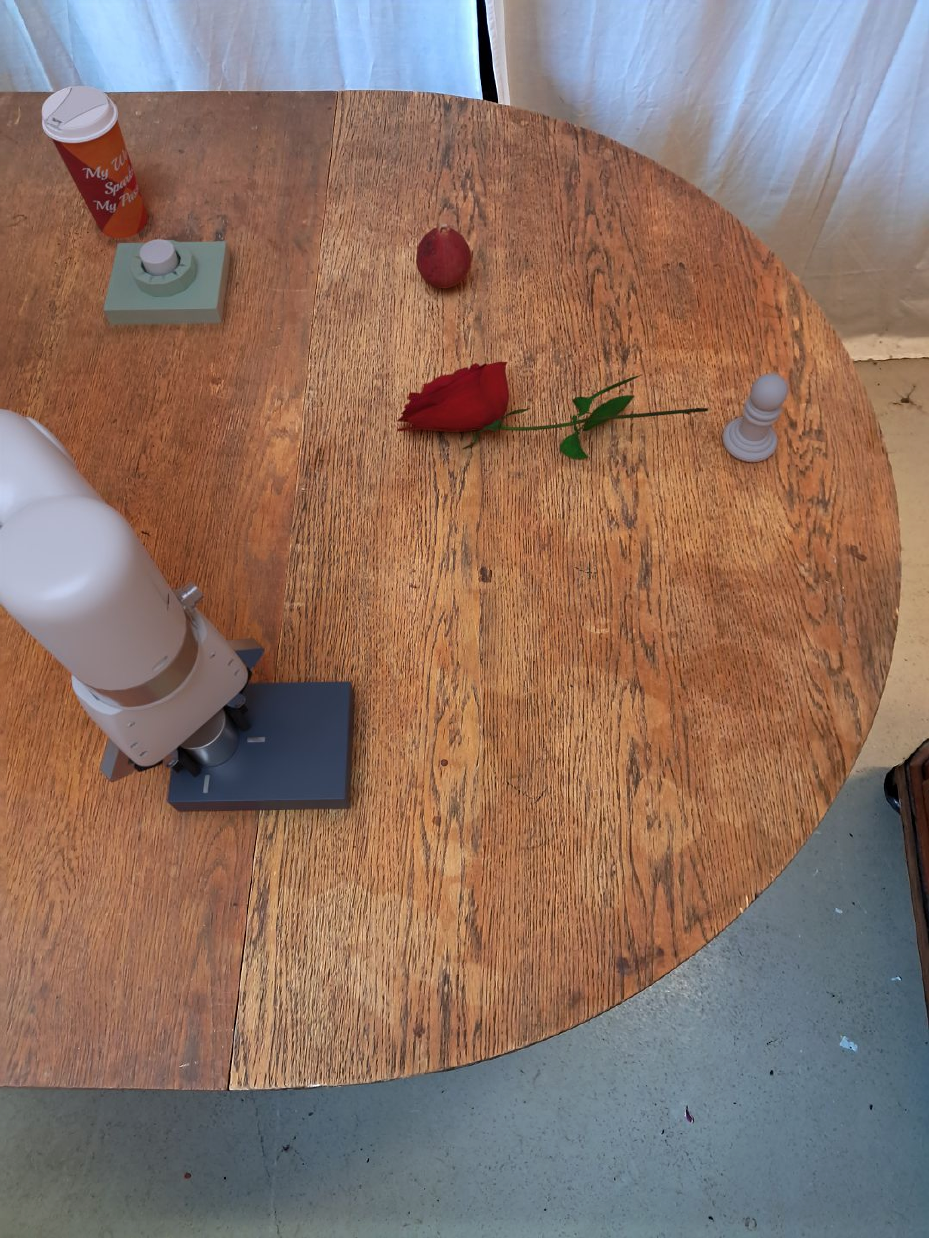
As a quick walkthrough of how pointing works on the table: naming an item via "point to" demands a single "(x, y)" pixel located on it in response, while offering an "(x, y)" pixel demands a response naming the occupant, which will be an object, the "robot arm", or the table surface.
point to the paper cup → (96, 157)
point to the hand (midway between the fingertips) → (210, 739)
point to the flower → (501, 406)
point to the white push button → (159, 257)
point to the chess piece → (757, 420)
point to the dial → (212, 741)
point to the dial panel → (280, 753)
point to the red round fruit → (443, 257)
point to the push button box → (169, 286)
